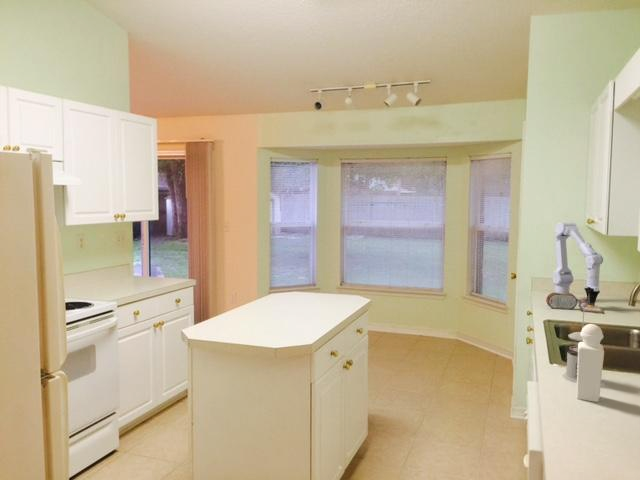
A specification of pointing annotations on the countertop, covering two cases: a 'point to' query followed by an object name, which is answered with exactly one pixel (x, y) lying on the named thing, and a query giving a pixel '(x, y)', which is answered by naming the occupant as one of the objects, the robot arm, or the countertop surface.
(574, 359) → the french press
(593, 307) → the cylinder
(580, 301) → the button base
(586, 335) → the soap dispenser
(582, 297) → the button
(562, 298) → the tin
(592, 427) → the countertop surface
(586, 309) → the drawing board
